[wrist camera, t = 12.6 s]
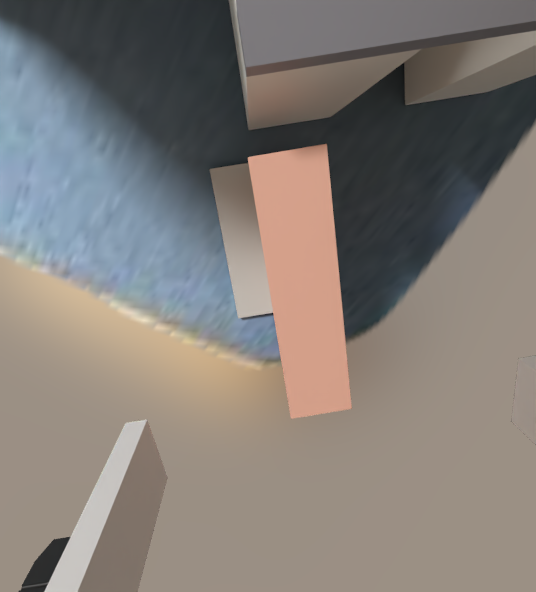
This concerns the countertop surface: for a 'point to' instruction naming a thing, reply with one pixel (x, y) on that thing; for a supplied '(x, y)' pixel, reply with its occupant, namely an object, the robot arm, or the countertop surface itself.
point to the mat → (242, 239)
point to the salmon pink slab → (303, 276)
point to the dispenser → (375, 51)
